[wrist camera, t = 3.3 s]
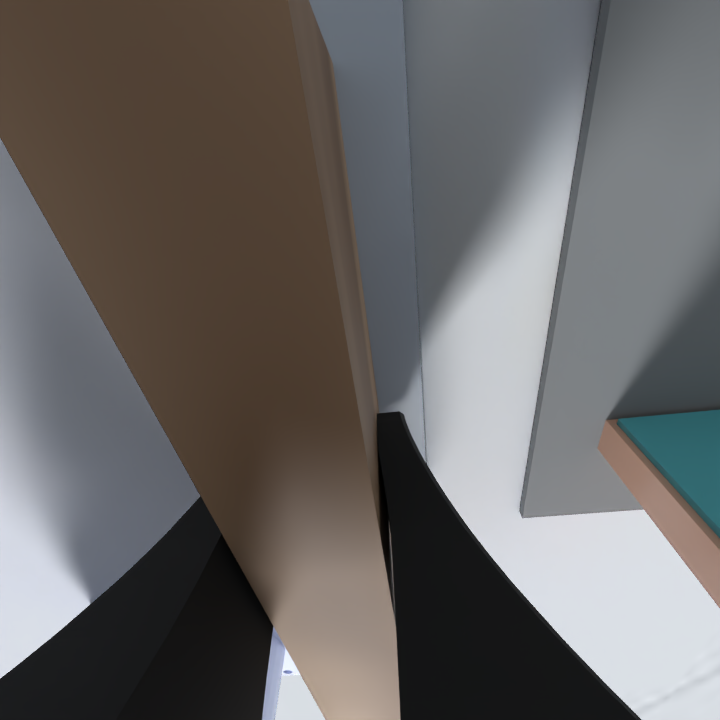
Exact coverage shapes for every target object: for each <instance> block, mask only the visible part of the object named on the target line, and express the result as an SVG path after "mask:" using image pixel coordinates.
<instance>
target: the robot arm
mask: <svg viewBox="0 0 720 720" xmlns="http://www.w3.org/2000/svg"><path fill="white" fill-rule="evenodd" d="M377 445H378V452H379V459H380V466H381V473H382V480H383V486H384V493H385V500H386V507H387V514H388V521H389V527H390V533H391V546H392V563H393V581H394V599H395V618H396V637H397V657H398V678H399V698H400V720H641V719H640V718H639V717H638V716H637V715H636V714H635V713H634V712H633V711H632V710H631V709H630V708H629V707H628V706H627V705H626V704H625V703H624V702H623V701H622V700H621V699H620V698H619V697H618V696H617V695H616V694H615V693H614V692H613V691H612V690H611V689H610V688H609V687H608V686H607V685H606V684H605V683H604V682H603V681H602V679H601V678H600V677H599V676H598V675H597V674H596V673H595V672H594V671H593V670H592V669H591V668H590V667H589V666H588V665H587V664H586V663H585V662H584V661H583V660H582V659H581V658H580V657H579V655H578V654H577V653H576V652H575V651H574V650H573V649H572V648H571V647H570V646H569V645H568V644H567V643H566V642H565V641H564V640H563V639H562V638H561V637H560V635H559V634H558V633H557V632H556V631H555V630H554V629H553V628H552V626H551V625H550V624H549V623H548V622H547V621H546V620H545V619H544V618H543V616H542V615H541V614H540V613H539V612H538V611H537V610H536V609H535V607H534V606H533V605H532V604H531V603H530V602H529V601H528V600H527V599H526V597H525V596H524V595H523V594H522V593H521V592H520V591H519V590H518V588H517V587H516V586H515V585H514V584H513V583H512V582H511V580H510V579H509V578H508V577H507V576H506V574H505V573H504V572H503V571H502V570H501V568H500V567H499V566H498V565H497V563H496V562H495V561H494V560H493V559H492V557H491V556H490V555H489V554H488V552H487V551H486V550H485V549H484V547H483V546H482V545H481V543H480V542H479V541H478V540H477V538H476V537H475V536H474V534H473V533H472V532H471V530H470V529H469V528H468V526H467V525H466V524H465V522H464V521H463V519H462V518H461V517H460V515H459V514H458V512H457V511H456V509H455V508H454V507H453V505H452V504H451V502H450V501H449V499H448V498H447V496H446V495H445V493H444V492H443V490H442V489H441V487H440V485H439V484H438V482H437V481H436V479H435V477H434V476H433V474H432V472H431V471H430V469H429V467H428V466H427V464H426V462H425V460H424V459H423V457H422V455H421V453H420V451H419V449H418V447H417V445H416V443H415V441H414V439H413V437H412V435H411V433H410V430H409V428H408V425H407V423H406V420H405V416H404V414H403V413H401V412H400V411H397V412H387V413H377ZM282 675H300V673H299V671H298V669H297V667H296V666H295V664H294V662H293V660H292V658H291V657H290V655H289V653H288V651H287V650H286V648H285V646H284V644H283V642H282V641H281V639H280V637H279V635H278V633H277V632H276V630H275V628H274V626H273V624H272V623H271V621H270V619H269V617H268V616H267V614H266V612H265V610H264V608H263V607H262V605H261V603H260V601H259V599H258V598H257V596H256V594H255V592H254V591H253V589H252V587H251V585H250V583H249V582H248V580H247V578H246V576H245V574H244V573H243V571H242V569H241V567H240V565H239V564H238V562H237V560H236V558H235V557H234V555H233V553H232V551H231V549H230V548H229V546H228V544H227V542H226V540H225V539H224V537H223V535H222V533H221V531H220V530H219V528H218V526H217V524H216V523H215V521H214V519H213V517H212V515H211V514H210V512H209V510H208V508H207V506H206V505H205V503H204V501H203V499H202V498H201V497H200V498H199V499H198V500H197V501H196V502H195V503H194V504H193V505H192V506H191V507H190V509H189V510H188V511H187V512H186V513H185V514H184V515H183V516H182V517H181V518H180V519H179V521H178V522H177V523H176V524H175V525H174V526H173V527H172V528H171V529H170V530H169V531H168V532H167V533H166V534H165V535H164V536H163V538H162V539H161V540H160V541H159V542H158V543H157V544H156V545H155V546H154V547H153V548H152V549H151V550H150V551H148V552H147V553H146V554H145V555H144V556H143V557H142V558H141V559H140V560H139V561H138V562H137V563H136V564H135V565H134V566H133V567H132V568H131V569H130V570H129V571H127V572H126V573H125V574H124V575H123V576H122V577H121V578H120V579H119V580H118V581H117V582H116V583H115V584H113V585H112V586H111V587H110V588H109V589H108V590H107V591H105V592H104V593H103V594H102V595H101V596H100V597H98V598H97V599H96V600H95V601H94V602H93V603H92V604H90V605H89V606H88V607H87V608H86V609H85V610H83V611H82V612H81V613H80V614H79V615H78V616H77V617H75V618H74V619H73V620H72V621H71V622H70V623H68V624H67V625H66V626H65V627H64V628H63V629H62V630H60V631H59V632H58V633H57V634H56V635H54V636H53V637H52V638H51V639H50V640H48V641H47V642H46V643H45V644H43V645H42V646H41V647H40V648H38V649H37V650H36V651H35V652H33V653H32V654H31V655H30V656H28V657H27V658H26V659H25V660H23V661H22V662H21V663H20V664H19V665H17V666H16V667H15V668H13V669H12V670H11V671H10V672H8V673H7V674H6V675H4V676H3V677H2V678H1V679H0V720H275V715H276V708H277V702H278V695H279V689H280V682H281V676H282Z"/></svg>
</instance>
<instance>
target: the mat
mask: <svg viewBox="0 0 720 720" xmlns="http://www.w3.org/2000/svg"><path fill="white" fill-rule="evenodd" d="M710 410H720V0H602V2H601V8H600V14H599V20H598V27H597V33H596V39H595V45H594V51H593V58H592V64H591V70H590V76H589V82H588V89H587V95H586V101H585V107H584V114H583V120H582V126H581V132H580V138H579V145H578V151H577V157H576V163H575V169H574V176H573V182H572V188H571V194H570V201H569V207H568V213H567V219H566V225H565V232H564V238H563V244H562V250H561V256H560V263H559V269H558V275H557V281H556V287H555V294H554V300H553V306H552V312H551V319H550V325H549V331H548V337H547V343H546V350H545V356H544V362H543V368H542V374H541V381H540V387H539V393H538V399H537V406H536V412H535V418H534V424H533V430H532V437H531V443H530V449H529V455H528V461H527V468H526V474H525V480H524V486H523V492H522V499H521V505H520V513H521V516H522V518H531V517H545V516H559V515H572V514H586V513H600V512H614V511H628V510H642V509H643V507H642V506H641V505H640V503H639V502H638V501H637V500H636V498H635V497H634V496H633V494H632V493H631V492H630V490H629V489H628V488H627V486H626V485H625V484H624V483H623V481H622V480H621V479H620V477H619V476H618V475H617V473H616V472H615V471H614V469H613V468H612V467H611V466H610V464H609V463H608V462H607V460H606V459H605V458H604V456H603V455H602V454H601V453H600V451H599V450H598V449H597V448H598V445H599V441H600V438H601V434H602V431H603V428H604V424H605V421H606V420H612V419H622V418H633V417H644V416H655V415H666V414H677V413H688V412H699V411H710Z"/></svg>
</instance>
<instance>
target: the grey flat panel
mask: <svg viewBox="0 0 720 720" xmlns="http://www.w3.org/2000/svg"><path fill="white" fill-rule="evenodd" d="M309 2H310V5H311V7H312V10H313V13H314V15H315V18H316V21H317V23H318V26H319V28H320V31H321V34H322V36H323V39H324V41H325V44H326V47H327V49H328V52H329V54H330V57H331V60H332V62H333V68H334V76H335V83H336V91H337V98H338V106H339V113H340V121H341V128H342V136H343V143H344V151H345V158H346V166H347V173H348V181H349V188H350V196H351V203H352V211H353V218H354V226H355V233H356V241H357V248H358V256H359V263H360V271H361V278H362V286H363V293H364V301H365V308H366V316H367V323H368V331H369V338H370V346H371V353H372V361H373V368H374V376H375V383H376V391H377V398H378V406H379V413H387V412H397V411H400V412H401V413H403V414H404V416H405V420H406V423H407V425H408V428H409V430H410V433H411V435H412V437H413V439H414V441H415V443H416V445H417V447H418V449H419V451H420V453H421V455H422V457H423V459H424V460H425V462H426V454H425V434H424V414H423V395H422V375H421V355H420V335H419V315H418V295H417V276H416V256H415V236H414V216H413V196H412V177H411V157H410V137H409V117H408V97H407V77H406V58H405V38H404V18H403V0H309Z"/></svg>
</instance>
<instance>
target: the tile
mask: <svg viewBox="0 0 720 720" xmlns="http://www.w3.org/2000/svg"><path fill="white" fill-rule="evenodd" d="M597 449H598V450H599V451H600V453H601V454H602V455H603V456H604V458H605V459H606V460H607V462H608V463H609V464H610V466H611V467H612V468H613V469H614V471H615V472H616V473H617V475H618V476H619V477H620V479H621V480H622V481H623V483H624V484H625V485H626V486H627V488H628V489H629V490H630V492H631V493H632V494H633V496H634V497H635V498H636V500H637V501H638V502H639V503H640V505H641V506H642V507H643V509H644V510H645V511H646V513H647V514H648V515H649V516H650V518H651V519H652V520H653V522H654V523H655V524H656V526H657V527H658V528H659V530H660V531H661V532H662V533H663V535H664V536H665V537H666V539H667V540H668V541H669V543H670V544H671V545H672V547H673V548H674V549H675V550H676V552H677V553H678V554H679V556H680V557H681V558H682V560H683V561H684V562H685V564H686V565H687V566H688V567H689V569H690V570H691V571H692V573H693V574H694V575H695V577H696V578H697V579H698V580H699V582H700V583H701V584H702V586H703V587H704V588H705V590H706V591H707V592H708V594H709V595H710V596H711V597H712V599H713V600H714V601H715V603H716V604H717V605H718V607H719V608H720V410H710V411H699V412H688V413H677V414H666V415H655V416H644V417H633V418H622V419H612V420H606V421H605V424H604V428H603V431H602V434H601V438H600V441H599V445H598V448H597Z"/></svg>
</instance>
